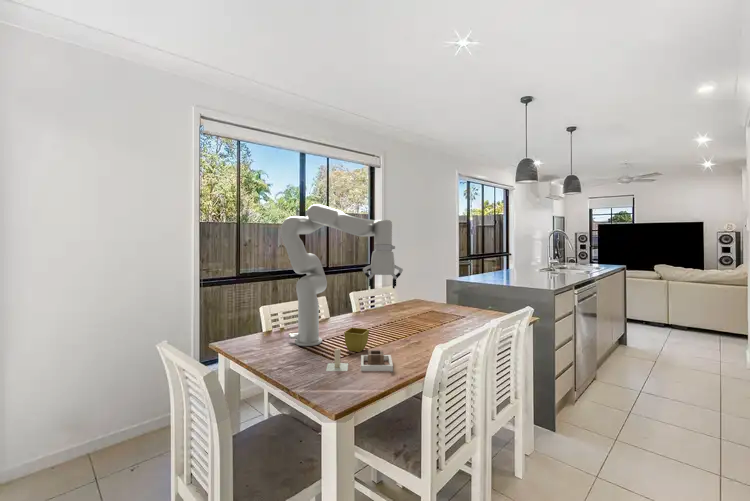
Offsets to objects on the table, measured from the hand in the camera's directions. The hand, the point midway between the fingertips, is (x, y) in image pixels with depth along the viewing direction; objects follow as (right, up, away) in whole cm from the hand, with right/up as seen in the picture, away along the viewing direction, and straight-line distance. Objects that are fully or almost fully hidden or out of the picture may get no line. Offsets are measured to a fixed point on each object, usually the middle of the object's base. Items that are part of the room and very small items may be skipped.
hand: (382, 287), depth 157 cm
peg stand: (-18, -29, -18) cm, 39 cm away
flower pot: (-11, -28, +3) cm, 31 cm away
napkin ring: (-3, -29, -16) cm, 33 cm away
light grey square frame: (-3, -29, -16) cm, 33 cm away
